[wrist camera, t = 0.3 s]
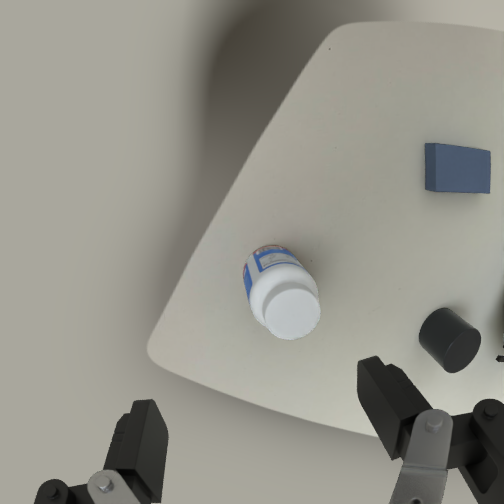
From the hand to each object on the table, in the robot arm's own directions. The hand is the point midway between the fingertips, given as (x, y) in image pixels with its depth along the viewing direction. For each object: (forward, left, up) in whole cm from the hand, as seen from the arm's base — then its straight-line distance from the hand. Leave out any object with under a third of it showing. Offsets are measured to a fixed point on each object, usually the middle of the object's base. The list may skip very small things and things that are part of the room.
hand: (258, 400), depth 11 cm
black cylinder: (+2, +28, -20) cm, 34 cm away
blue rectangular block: (-17, +20, -20) cm, 33 cm away
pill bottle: (0, +4, -20) cm, 20 cm away
